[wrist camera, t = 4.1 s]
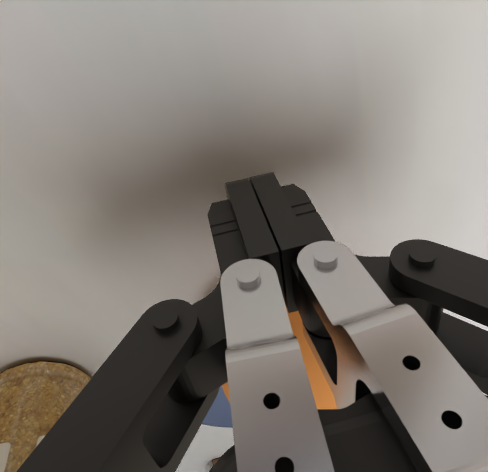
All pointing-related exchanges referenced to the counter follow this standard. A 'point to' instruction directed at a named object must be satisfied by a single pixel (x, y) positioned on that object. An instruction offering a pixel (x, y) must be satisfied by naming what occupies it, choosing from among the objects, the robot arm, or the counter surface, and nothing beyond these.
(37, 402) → the sprinkles bottle
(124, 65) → the counter surface
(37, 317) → the counter surface
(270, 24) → the counter surface
